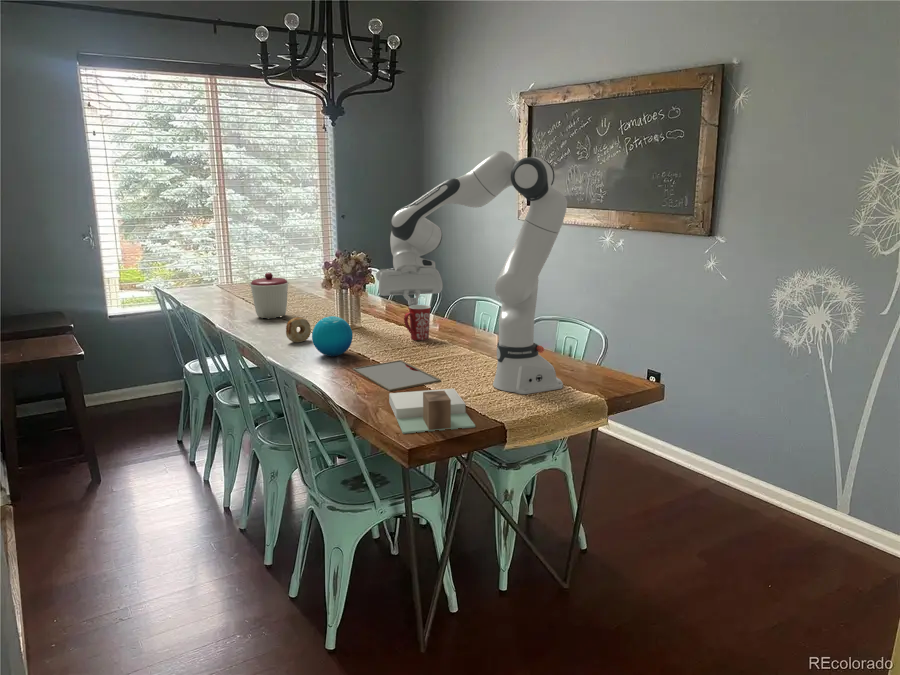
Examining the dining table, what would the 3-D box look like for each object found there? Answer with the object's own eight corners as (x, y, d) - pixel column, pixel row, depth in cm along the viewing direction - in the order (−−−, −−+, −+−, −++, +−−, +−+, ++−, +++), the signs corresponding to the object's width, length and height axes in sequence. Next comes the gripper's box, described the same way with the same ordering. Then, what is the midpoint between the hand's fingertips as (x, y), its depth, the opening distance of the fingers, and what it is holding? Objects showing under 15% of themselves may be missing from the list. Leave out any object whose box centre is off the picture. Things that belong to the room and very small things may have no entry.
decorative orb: (340, 362, 245) (338, 322, 242) (305, 358, 251) (302, 319, 247) (360, 352, 259) (359, 314, 255) (326, 348, 264) (324, 311, 261)
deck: (454, 397, 208) (454, 388, 207) (465, 413, 195) (465, 403, 194) (389, 402, 204) (389, 393, 203) (396, 419, 191) (396, 409, 190)
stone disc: (290, 344, 270) (288, 320, 268) (285, 343, 273) (284, 318, 270) (313, 340, 277) (311, 316, 274) (308, 338, 279) (307, 315, 277)
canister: (297, 313, 327) (294, 270, 322) (281, 321, 310) (278, 276, 305) (262, 312, 331) (259, 269, 325) (244, 320, 313) (241, 275, 308)
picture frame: (441, 382, 224) (400, 362, 247) (441, 379, 224) (400, 359, 247) (389, 392, 214) (352, 370, 237) (389, 389, 214) (352, 368, 237)
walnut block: (444, 390, 188) (450, 399, 181) (444, 417, 190) (450, 427, 183) (423, 392, 187) (428, 401, 180) (423, 419, 189) (428, 429, 182)
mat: (466, 414, 194) (466, 412, 194) (475, 427, 185) (475, 425, 184) (397, 420, 190) (397, 418, 190) (402, 433, 180) (402, 431, 180)
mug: (420, 334, 286) (420, 303, 283) (435, 338, 280) (435, 306, 276) (397, 340, 277) (397, 307, 274) (412, 344, 271) (411, 311, 268)
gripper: (376, 263, 213) (381, 299, 206) (439, 261, 217) (446, 297, 211) (374, 275, 218) (379, 311, 211) (436, 273, 223) (443, 308, 216)
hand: (413, 304), depth 211 cm, fingers closed
